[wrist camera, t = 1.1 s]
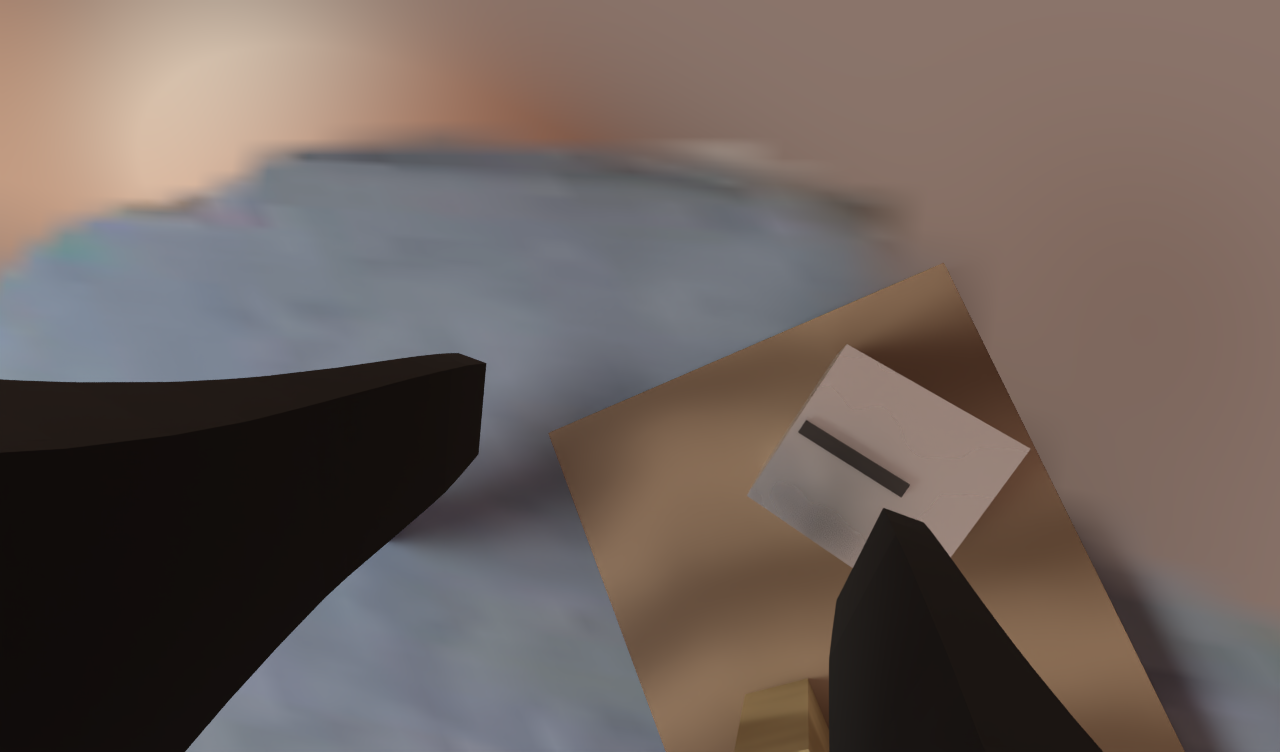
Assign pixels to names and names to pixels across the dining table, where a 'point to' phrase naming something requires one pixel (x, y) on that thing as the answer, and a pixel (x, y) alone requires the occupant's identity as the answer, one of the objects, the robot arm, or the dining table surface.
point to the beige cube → (882, 460)
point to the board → (803, 570)
